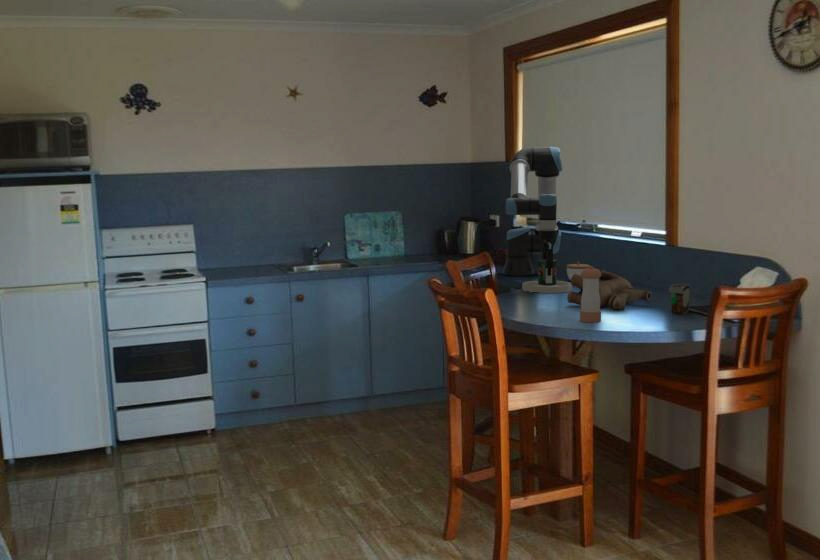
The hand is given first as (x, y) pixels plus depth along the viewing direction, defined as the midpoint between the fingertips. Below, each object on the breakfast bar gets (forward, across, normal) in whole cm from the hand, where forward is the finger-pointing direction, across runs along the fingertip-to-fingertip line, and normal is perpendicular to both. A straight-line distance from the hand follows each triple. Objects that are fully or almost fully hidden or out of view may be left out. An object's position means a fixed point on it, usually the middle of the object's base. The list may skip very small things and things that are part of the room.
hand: (547, 281), depth 374 cm
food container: (+4, +62, +37) cm, 73 cm away
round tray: (+4, 0, 0) cm, 4 cm away
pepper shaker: (+4, +77, +2) cm, 77 cm away
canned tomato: (+2, 0, 0) cm, 2 cm away
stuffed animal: (+4, +44, +18) cm, 47 cm away
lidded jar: (+4, -26, +19) cm, 32 cm away
